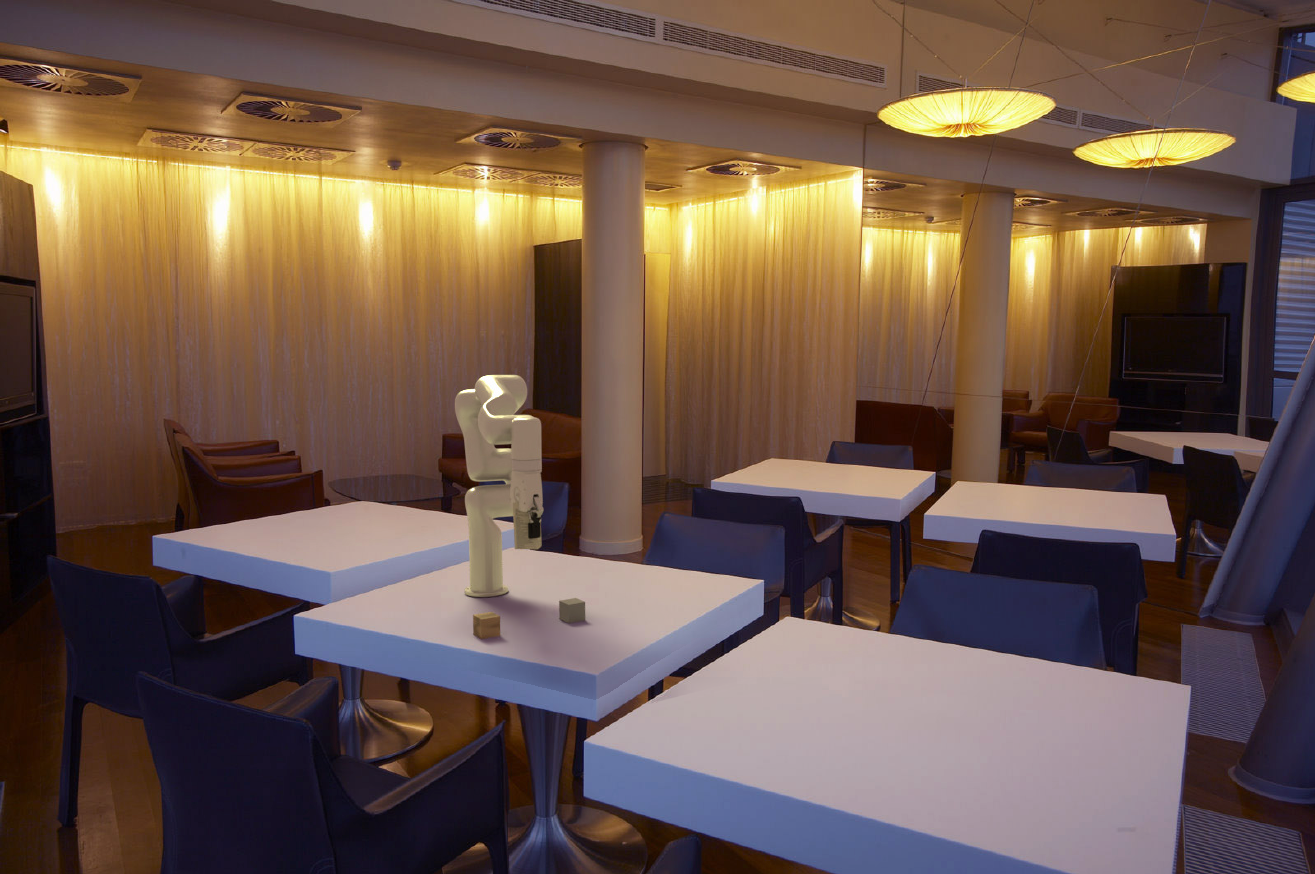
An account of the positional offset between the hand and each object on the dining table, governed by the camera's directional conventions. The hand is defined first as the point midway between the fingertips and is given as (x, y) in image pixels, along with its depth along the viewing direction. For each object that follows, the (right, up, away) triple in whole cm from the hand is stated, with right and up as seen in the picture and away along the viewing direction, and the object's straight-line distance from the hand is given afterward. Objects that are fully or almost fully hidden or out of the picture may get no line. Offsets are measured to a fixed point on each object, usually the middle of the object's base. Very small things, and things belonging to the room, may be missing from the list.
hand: (527, 535), depth 229 cm
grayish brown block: (+11, -23, +8) cm, 27 cm away
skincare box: (0, -4, 0) cm, 4 cm away
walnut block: (-9, -24, -6) cm, 27 cm away
